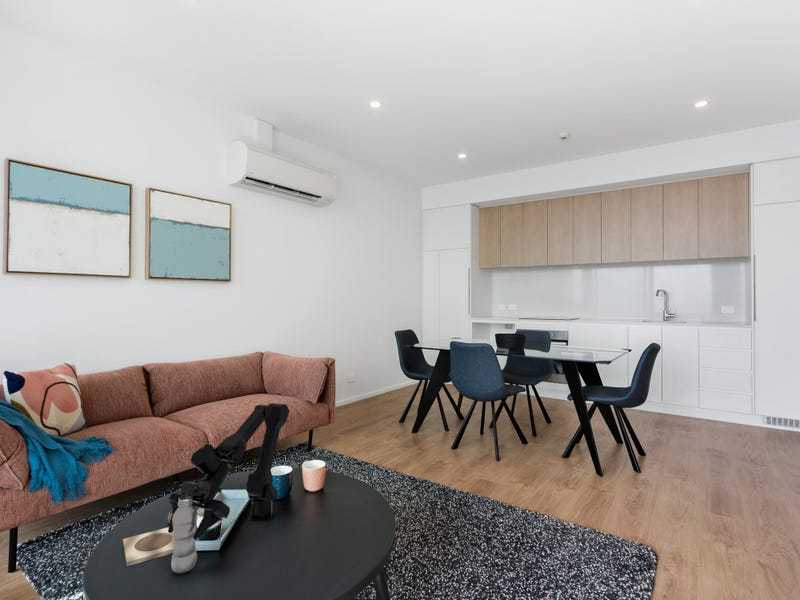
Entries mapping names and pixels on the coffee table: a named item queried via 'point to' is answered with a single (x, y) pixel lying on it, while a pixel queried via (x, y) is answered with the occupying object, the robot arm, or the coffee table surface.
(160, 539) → the ash board
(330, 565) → the coffee table surface
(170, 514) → the wristwatch
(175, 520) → the plastic bottle
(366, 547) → the coffee table surface
